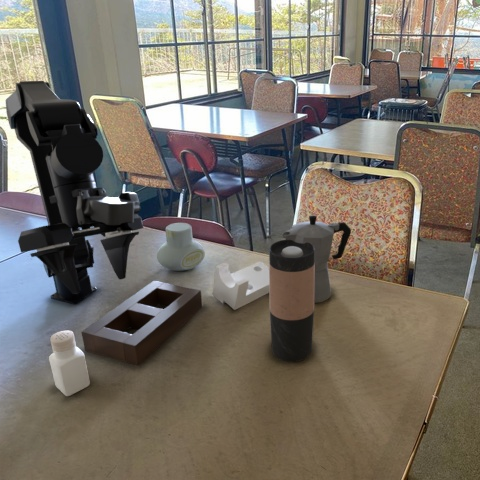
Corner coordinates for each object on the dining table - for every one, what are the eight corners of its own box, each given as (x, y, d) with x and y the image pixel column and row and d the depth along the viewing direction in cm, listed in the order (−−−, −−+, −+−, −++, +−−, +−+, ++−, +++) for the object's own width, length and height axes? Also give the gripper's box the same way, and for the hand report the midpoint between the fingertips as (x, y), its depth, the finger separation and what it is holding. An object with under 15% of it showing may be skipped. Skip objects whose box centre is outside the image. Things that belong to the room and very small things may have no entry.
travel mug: (280, 368, 81) (279, 261, 73) (264, 343, 87) (261, 243, 79) (320, 355, 84) (323, 253, 76) (301, 333, 91) (303, 235, 83)
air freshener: (188, 253, 121) (185, 216, 117) (211, 262, 117) (208, 224, 113) (152, 268, 113) (147, 229, 109) (174, 279, 109) (170, 238, 105)
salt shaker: (79, 374, 78) (69, 325, 74) (92, 385, 76) (81, 335, 72) (54, 387, 75) (42, 336, 72) (66, 399, 73) (54, 347, 69)
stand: (84, 350, 84) (81, 331, 82) (156, 297, 101) (154, 280, 100) (138, 365, 81) (135, 345, 79) (202, 307, 98) (200, 290, 96)
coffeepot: (289, 309, 98) (290, 227, 91) (275, 288, 106) (274, 211, 99) (356, 296, 104) (362, 218, 97) (338, 276, 112) (342, 203, 105)
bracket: (233, 313, 98) (238, 285, 94) (212, 294, 101) (216, 266, 97) (279, 290, 107) (285, 263, 103) (257, 273, 110) (263, 246, 106)
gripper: (62, 175, 61) (93, 294, 62) (157, 172, 78) (180, 265, 79) (2, 193, 65) (32, 305, 66) (105, 187, 82) (128, 275, 83)
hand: (100, 285), depth 73 cm, fingers open, 9 cm apart
